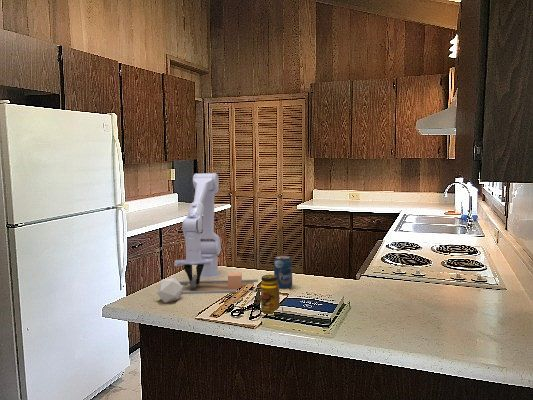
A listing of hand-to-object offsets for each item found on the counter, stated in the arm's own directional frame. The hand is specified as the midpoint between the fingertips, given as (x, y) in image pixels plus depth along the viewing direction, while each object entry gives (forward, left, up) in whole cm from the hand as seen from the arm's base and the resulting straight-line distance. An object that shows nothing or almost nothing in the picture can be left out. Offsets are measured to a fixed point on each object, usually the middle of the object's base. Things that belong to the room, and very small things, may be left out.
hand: (194, 283), depth 172 cm
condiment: (+27, +29, -2) cm, 40 cm away
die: (+13, -7, -2) cm, 15 cm away
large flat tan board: (0, +11, -2) cm, 11 cm away
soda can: (+1, +34, -2) cm, 34 cm away
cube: (0, +16, -2) cm, 16 cm away
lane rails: (0, +6, -2) cm, 7 cm away
